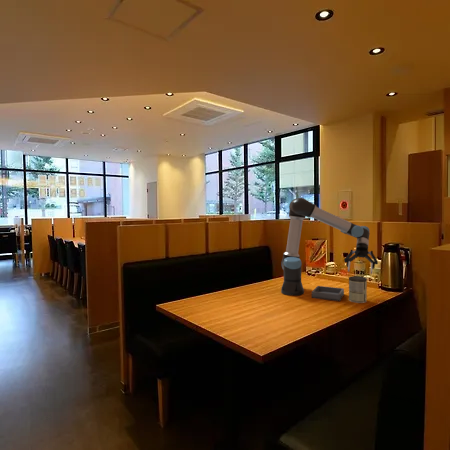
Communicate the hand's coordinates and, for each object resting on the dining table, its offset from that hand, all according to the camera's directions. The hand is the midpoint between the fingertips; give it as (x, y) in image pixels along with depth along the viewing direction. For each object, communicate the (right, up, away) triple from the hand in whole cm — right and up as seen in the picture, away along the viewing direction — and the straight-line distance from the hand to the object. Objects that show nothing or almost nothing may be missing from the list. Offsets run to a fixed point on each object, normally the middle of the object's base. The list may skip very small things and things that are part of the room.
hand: (359, 271), depth 204 cm
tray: (-20, -16, +2) cm, 26 cm away
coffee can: (-5, -17, -8) cm, 20 cm away
